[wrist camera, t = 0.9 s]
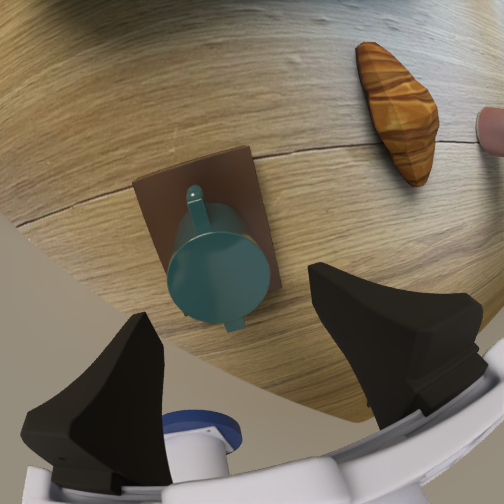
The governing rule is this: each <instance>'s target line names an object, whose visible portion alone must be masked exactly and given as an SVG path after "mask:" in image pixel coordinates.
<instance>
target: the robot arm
mask: <svg viewBox="0 0 504 504" xmlns="http://www.w3.org/2000/svg"><path fill="white" fill-rule="evenodd" d="M308 274H309V281H310V289H311V297H312V304H313V306H314V308H315V310H316V312H317V314H318V316H319V318H320V320H321V322H322V323H323V325H324V326H325V328H326V329H327V331H328V332H329V334H330V335H331V336H332V338H333V339H334V341H335V342H336V344H337V345H338V347H339V348H340V349H341V351H342V352H343V354H344V355H345V357H346V358H347V360H348V362H349V363H350V365H351V367H352V369H353V371H354V373H355V375H356V377H357V379H358V381H359V383H360V385H361V387H362V389H363V391H364V393H365V395H366V397H367V400H368V402H369V404H370V407H371V409H372V411H373V414H374V416H375V418H376V421H377V424H378V426H379V428H380V431H378V432H376V433H374V434H372V435H370V436H368V437H366V438H363V439H361V440H359V441H357V442H355V443H352V444H350V445H347V446H345V447H343V448H340V449H338V450H335V451H332V452H330V453H327V454H324V455H322V456H317V457H307V458H303V459H299V460H294V461H290V462H286V463H282V464H279V465H275V466H271V467H268V468H263V469H259V470H254V471H250V472H245V473H240V474H235V475H229V470H228V464H227V458H226V453H229V452H233V451H234V450H233V447H232V446H231V445H230V444H229V442H228V441H227V440H226V439H225V437H224V436H223V435H222V434H221V432H220V431H219V430H218V428H217V427H216V426H210V427H205V428H199V429H194V430H188V431H181V432H175V433H167V434H164V433H163V423H162V395H163V381H164V380H163V379H164V366H165V364H164V347H163V344H162V342H161V340H160V338H159V337H158V335H157V333H156V331H155V329H154V327H153V325H152V324H151V322H150V320H149V318H148V316H147V314H146V312H141V313H137V314H133V315H132V316H131V317H130V318H129V319H128V321H127V322H126V323H125V324H124V326H123V327H122V328H121V329H120V331H119V332H118V333H117V334H116V336H115V337H114V338H113V340H112V341H111V342H110V344H109V345H108V346H107V347H106V348H105V349H104V351H103V352H102V353H101V354H100V355H99V357H98V358H97V359H96V360H95V361H94V363H92V364H91V366H90V367H89V368H88V369H87V370H86V371H85V372H84V373H83V374H82V375H81V376H79V377H78V378H77V379H76V380H75V381H74V382H72V383H71V384H70V385H69V386H68V387H67V388H65V389H64V390H63V391H61V392H60V393H59V394H57V395H56V396H54V397H53V398H52V399H50V400H48V401H47V402H45V403H43V404H42V405H40V406H38V407H36V408H35V409H33V410H31V411H29V412H28V413H27V416H26V419H25V421H24V425H23V427H22V431H21V438H22V440H23V442H24V443H25V444H26V445H27V446H28V447H29V448H30V449H31V450H33V451H34V452H35V453H36V454H38V455H39V456H40V457H42V458H43V459H44V460H46V461H47V462H48V463H50V464H51V465H53V472H52V471H49V470H47V469H44V468H39V467H35V466H31V465H30V466H29V467H28V471H27V476H26V481H25V487H24V492H23V499H22V504H430V503H429V501H428V499H427V497H426V495H425V494H424V492H423V490H422V488H421V487H422V486H424V485H425V484H427V483H428V482H430V481H431V480H433V479H434V478H436V477H437V476H439V475H440V474H441V473H443V472H444V471H445V470H447V469H448V468H450V467H451V466H452V465H453V464H455V463H456V462H457V461H459V460H460V459H461V458H462V457H464V456H465V455H466V454H467V453H468V452H470V451H471V450H472V449H473V448H474V447H475V446H477V445H478V444H479V443H480V442H481V441H482V440H483V439H484V438H485V437H487V436H488V435H489V434H490V433H491V432H492V431H493V430H494V429H495V428H496V427H497V426H498V425H499V424H500V423H501V422H502V421H503V420H504V338H501V339H499V340H498V341H497V342H496V343H495V344H494V345H493V346H492V347H491V348H489V349H488V350H487V351H486V352H485V354H484V355H483V356H482V357H481V356H480V355H479V354H478V353H477V352H478V351H479V347H478V346H477V345H476V344H475V343H474V341H475V339H476V336H477V333H478V331H479V328H480V325H481V322H482V318H483V308H482V305H481V304H479V303H478V302H477V301H476V300H474V299H473V298H472V297H471V296H469V295H468V294H467V293H454V294H434V293H421V292H413V291H406V290H401V289H396V288H391V287H387V286H383V285H380V284H376V283H373V282H370V281H367V280H364V279H362V278H359V277H356V276H354V275H351V274H349V273H347V272H344V271H342V270H339V269H337V268H335V267H332V266H330V265H328V264H325V263H323V262H318V263H315V264H312V265H309V266H308Z"/></svg>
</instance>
